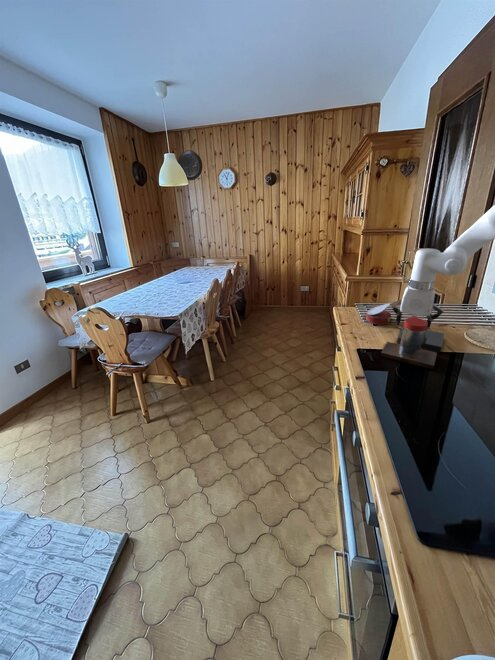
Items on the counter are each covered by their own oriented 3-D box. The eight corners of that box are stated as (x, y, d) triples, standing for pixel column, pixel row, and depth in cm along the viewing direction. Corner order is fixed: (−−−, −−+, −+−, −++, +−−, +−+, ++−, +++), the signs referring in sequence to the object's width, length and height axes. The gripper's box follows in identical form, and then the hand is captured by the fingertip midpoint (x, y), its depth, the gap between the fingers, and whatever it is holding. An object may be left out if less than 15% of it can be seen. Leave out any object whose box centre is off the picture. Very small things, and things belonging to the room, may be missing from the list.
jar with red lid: (421, 350, 99) (429, 319, 94) (418, 359, 94) (426, 327, 89) (400, 346, 103) (406, 316, 97) (396, 354, 98) (403, 323, 92)
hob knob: (412, 332, 109) (415, 320, 106) (407, 331, 110) (409, 319, 107) (414, 327, 112) (417, 315, 110) (409, 326, 113) (411, 314, 111)
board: (436, 356, 98) (437, 352, 97) (433, 369, 92) (434, 365, 91) (386, 344, 107) (387, 341, 106) (380, 356, 100) (381, 352, 100)
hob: (443, 337, 109) (445, 331, 108) (440, 353, 100) (442, 346, 98) (399, 328, 117) (400, 322, 116) (392, 342, 108) (393, 336, 107)
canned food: (377, 334, 124) (372, 318, 118) (363, 322, 132) (358, 307, 126) (400, 319, 123) (396, 303, 117) (384, 309, 131) (380, 293, 125)
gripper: (393, 284, 104) (385, 325, 112) (449, 290, 95) (437, 335, 103) (397, 278, 110) (390, 318, 117) (450, 284, 100) (439, 327, 108)
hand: (412, 326), depth 110 cm, fingers open, 9 cm apart
